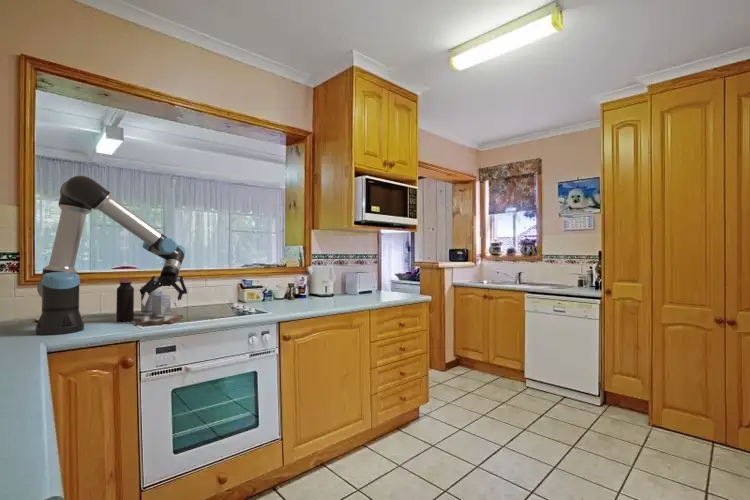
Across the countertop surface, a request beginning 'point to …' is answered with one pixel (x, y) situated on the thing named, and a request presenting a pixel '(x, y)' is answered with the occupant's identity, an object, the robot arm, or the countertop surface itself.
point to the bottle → (125, 300)
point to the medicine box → (161, 304)
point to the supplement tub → (149, 302)
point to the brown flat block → (159, 319)
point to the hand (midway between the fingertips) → (159, 304)
